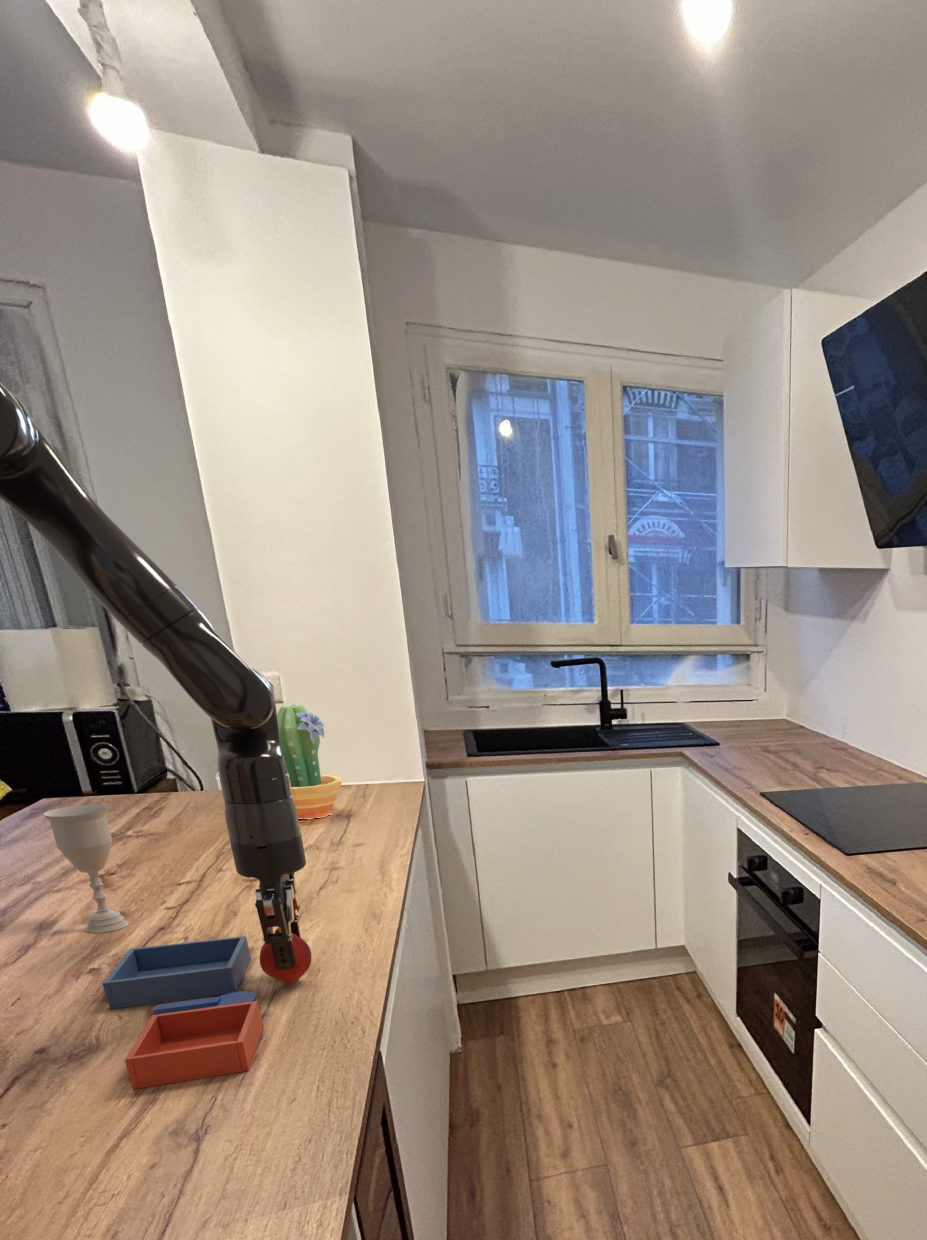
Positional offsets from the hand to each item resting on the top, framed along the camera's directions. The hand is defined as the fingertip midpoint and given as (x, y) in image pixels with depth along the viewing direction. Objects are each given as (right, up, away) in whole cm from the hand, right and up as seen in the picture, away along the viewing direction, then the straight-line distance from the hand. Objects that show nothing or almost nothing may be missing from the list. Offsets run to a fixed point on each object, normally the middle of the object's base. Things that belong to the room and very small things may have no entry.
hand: (289, 957), depth 105 cm
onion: (-1, -4, +1) cm, 4 cm away
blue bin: (-14, -3, +1) cm, 14 cm away
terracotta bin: (0, -10, -16) cm, 19 cm away
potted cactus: (-45, +26, +82) cm, 97 cm away
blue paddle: (-6, -6, -7) cm, 11 cm away
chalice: (-38, +3, +17) cm, 42 cm away
